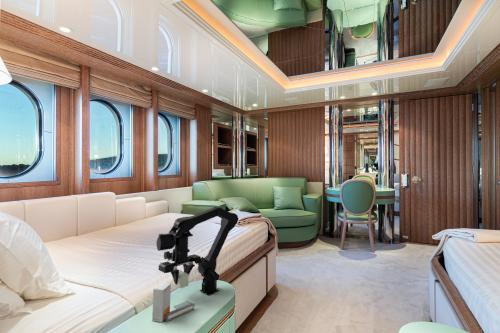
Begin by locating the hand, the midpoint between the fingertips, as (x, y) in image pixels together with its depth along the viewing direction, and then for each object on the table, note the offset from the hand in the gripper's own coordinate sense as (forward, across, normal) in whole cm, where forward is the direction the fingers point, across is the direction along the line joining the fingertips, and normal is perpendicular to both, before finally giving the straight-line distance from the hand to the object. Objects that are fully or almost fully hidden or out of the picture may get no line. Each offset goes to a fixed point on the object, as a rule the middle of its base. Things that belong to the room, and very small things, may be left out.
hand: (180, 282), depth 114 cm
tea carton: (+1, 0, 0) cm, 1 cm away
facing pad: (+7, +2, +6) cm, 10 cm away
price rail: (+7, +7, +10) cm, 15 cm away
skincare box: (+8, +13, +7) cm, 16 cm away
